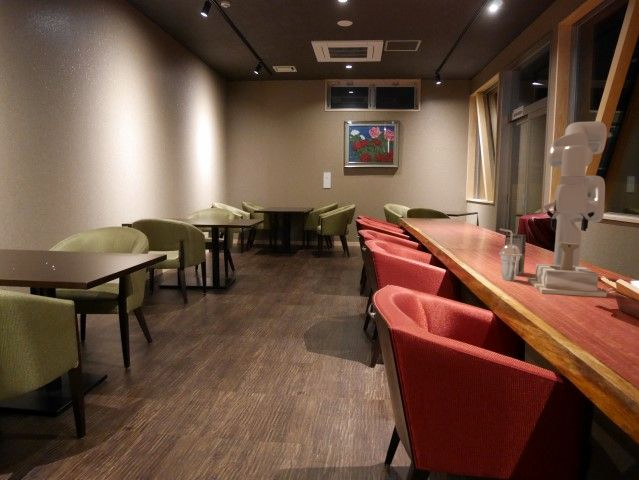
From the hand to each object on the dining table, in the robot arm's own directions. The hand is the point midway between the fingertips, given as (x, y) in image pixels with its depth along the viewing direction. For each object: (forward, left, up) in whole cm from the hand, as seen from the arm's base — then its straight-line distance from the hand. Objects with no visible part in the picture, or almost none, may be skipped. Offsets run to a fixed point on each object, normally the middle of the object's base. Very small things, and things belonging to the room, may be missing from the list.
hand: (568, 230), depth 172 cm
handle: (0, 0, -20) cm, 20 cm away
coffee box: (-28, -12, -21) cm, 37 cm away
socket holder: (0, 0, -21) cm, 21 cm away
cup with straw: (-12, -17, -21) cm, 29 cm away
